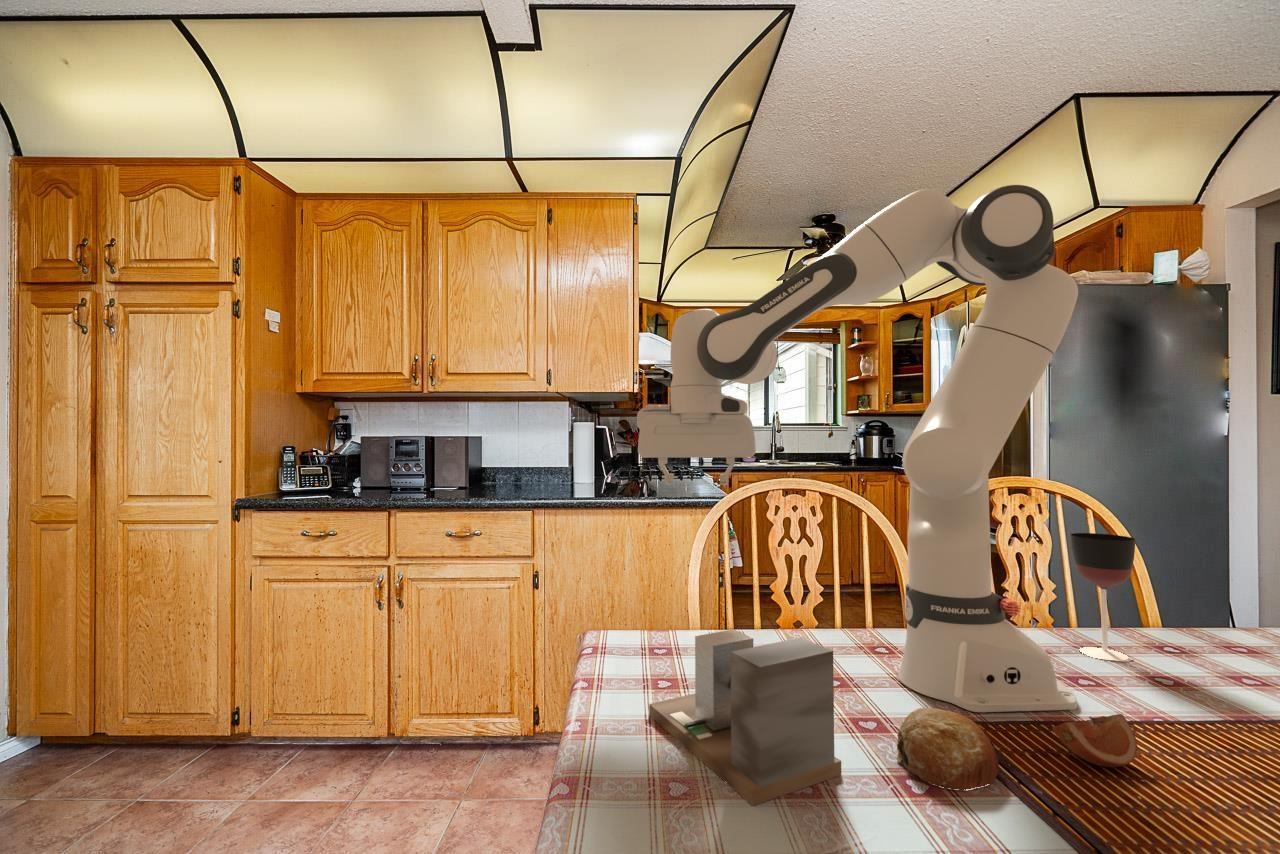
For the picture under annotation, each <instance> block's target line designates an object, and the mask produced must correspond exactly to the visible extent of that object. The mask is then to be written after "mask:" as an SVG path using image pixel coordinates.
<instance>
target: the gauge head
mask: <svg viewBox="0 0 1280 854" xmlns="http://www.w3.org/2000/svg"><path fill="white" fill-rule="evenodd" d="M694 638H695V639H694V649H695V651H694V652H695V653H694V656H695V657H694V659H695V660H694V663H695V665H694V666H695V667H694V668H695V669H694V672H695V673H694V674H695V675H694V679H695V680H694V683H695V684H694V685H695V693H694V694H695V709H696V718H698V719H699V720H697V721H694V722H690V723H686V724H685V727H687V728H689V727H693V726H697V725H701V724H706V725H707V726H708V727H709V728H711V729H712V730H713V731H714V730H718V729H722V728H726V727H729V726H731V651H736V650H741V649H746V648H751V647H754V638H753V637H751V636H749V635H747V634H745V633H743V632H741V631H738V630H737V629H734V628H733V629H728V630H722V631H718V632H717V631H716V632H711V633H705V634H699V635H695V636H694Z"/></svg>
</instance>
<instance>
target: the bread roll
mask: <svg viewBox="0 0 1280 854" xmlns="http://www.w3.org/2000/svg"><path fill="white" fill-rule="evenodd" d="M984 732H985V731H983V730H982V729H981V727H980V726H979V725H978V724H976V723H975V722H974V721H973V720H971V719H970V718H968V717H967V716H964V715H962V714H961V713H958V712H955V711H951V710H944V709H940V708H934V707H920V708H918V709H915V710H913V711H911V712H910V713H909V714H908V715H907V716H906V717H905V719H904V720H903V722H902V723H901V725H900V727H899V730H898V732H897V733H898V735H897V744H896V747H897V748H896V750H897V751H898V753H897V755H896V761H897V762H898V763H899V764H901V765H902V766H903V767H904V768H906V770H908V771H909V772H910V773H911V772H912V773H911V774H913V775H915V776H916V775H917V776H916V777H918V778H920V779H921V781H923V780H925V781H927V782H930V783H931V784H935V785H937V786H941V787H944V788H951V789H959V790H964V789H965V790H966V789H971V788H975V787H981V786H985V785H987V784H990V785H992V784H993V782H994V781H995V779H996V778H997V776H998V770H999V767H1000V763H999V759H998V756H997V753H996V748H995V744H994V742H993V740H991V739H990V738H989V737H988V736H987V735H986V734H985V733H984ZM925 781H924V782H925ZM927 782H926V783H927ZM991 783H992V784H991ZM931 784H930V785H931ZM944 788H943V789H944Z"/></svg>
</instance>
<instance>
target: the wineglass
mask: <svg viewBox="0 0 1280 854" xmlns="http://www.w3.org/2000/svg"><path fill="white" fill-rule="evenodd" d="M1070 544H1071V552H1072V557H1073V561H1074V565H1075V568H1076V571H1077V573H1078V574H1079V575H1080V576H1081V577H1082V578H1083V579H1084V580H1086V581H1088V582H1089V583H1091V584H1093V585H1095V586H1096V587H1098V588H1100V611H1101V612H1100V616H1101V621H1100V623H1101V647H1099V648H1097V647H1096V646H1082V647H1083V648H1081V647H1079V648H1080V649H1079V650H1080V652H1082V654H1081V655H1083V653H1084V654H1086V655H1087V657H1088V656H1090V657H1089V658H1091V657H1093V658H1092V659H1095V658H1098V659H1097V660H1099V659H1106V660H1107V659H1108V660H1126V659H1128V658H1129V657H1128V656H1127V655H1128V654H1127V655H1125V654H1126V653H1125V654H1123V653H1124V652H1122V651H1119V650H1115V649H1111V650H1109V648H1108V645H1109V644H1108V609H1107V607H1108V604H1107V603H1108V602H1107V589H1108V588H1109V589H1110V588H1111V587H1114V586H1118V585H1120V584H1122V583H1125V582H1126V581H1127V580H1129V578H1130V577H1131V573H1132V571H1133V570H1132V569H1133V566H1134V561H1135V560H1134V559H1135V551H1136V550H1135V549H1136V538H1134V537H1131V536H1125V535H1118V534H1108V533H1092V532H1075V533H1071V534H1070ZM1114 650H1115V651H1114ZM1118 651H1119V652H1118ZM1080 652H1079V653H1080ZM1121 652H1122V653H1121ZM1086 655H1085V656H1086Z"/></svg>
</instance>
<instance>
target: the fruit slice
mask: <svg viewBox="0 0 1280 854" xmlns="http://www.w3.org/2000/svg"><path fill="white" fill-rule="evenodd" d="M1088 718H1089V719H1087V720H1085V719H1082V720H1071V721H1065V722H1063V723H1060V724H1059V725H1056V726H1053V727H1052V731H1053V733H1054V734H1055V735H1056V737H1057V738H1058V739H1059V740H1060V742H1062V743H1063V745H1064V746H1065V747H1066V748H1067V749H1068V750H1069V751H1071V752H1072V753H1073V754H1074V755H1076V756H1077V757H1079V758H1080V759H1081V760H1084V761H1086V762H1088V763H1091V764H1093V763H1094V764H1093V765H1096V764H1097V765H1096V766H1100V767H1104V766H1105V767H1106V768H1118V767H1124V766H1126V765H1129V764H1130V763H1132V762H1133V761H1134V760H1135V759H1136V757H1137V754H1138V740H1137V738H1136V735H1135V733H1134V729H1132V726H1131V725H1130V723H1129V721H1128V720H1127V719H1126V717H1125V715H1124V714H1121V713H1120V714H1118V713H1117V714H1111V715H1109V716H1105V715H1102V716H1098V717H1095V716H1093V717H1092V716H1089V717H1088Z"/></svg>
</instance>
